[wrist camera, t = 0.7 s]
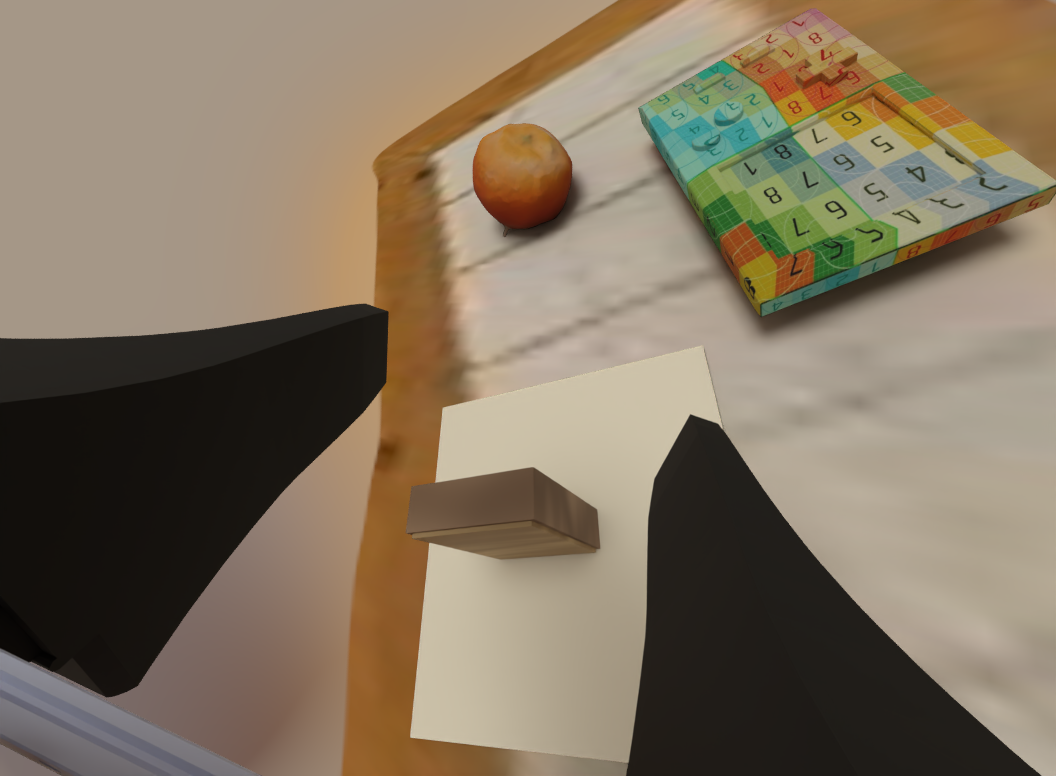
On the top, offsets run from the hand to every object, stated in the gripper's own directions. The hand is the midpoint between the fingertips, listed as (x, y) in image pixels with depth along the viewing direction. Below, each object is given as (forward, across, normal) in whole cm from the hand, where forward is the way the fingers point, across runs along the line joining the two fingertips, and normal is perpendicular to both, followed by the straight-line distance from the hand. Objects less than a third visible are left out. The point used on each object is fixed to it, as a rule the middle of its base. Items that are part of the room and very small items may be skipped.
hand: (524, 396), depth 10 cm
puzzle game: (+26, -10, -4) cm, 28 cm away
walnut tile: (+8, -2, +14) cm, 16 cm away
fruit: (+31, +7, +3) cm, 32 cm away
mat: (+8, -3, +14) cm, 16 cm away
